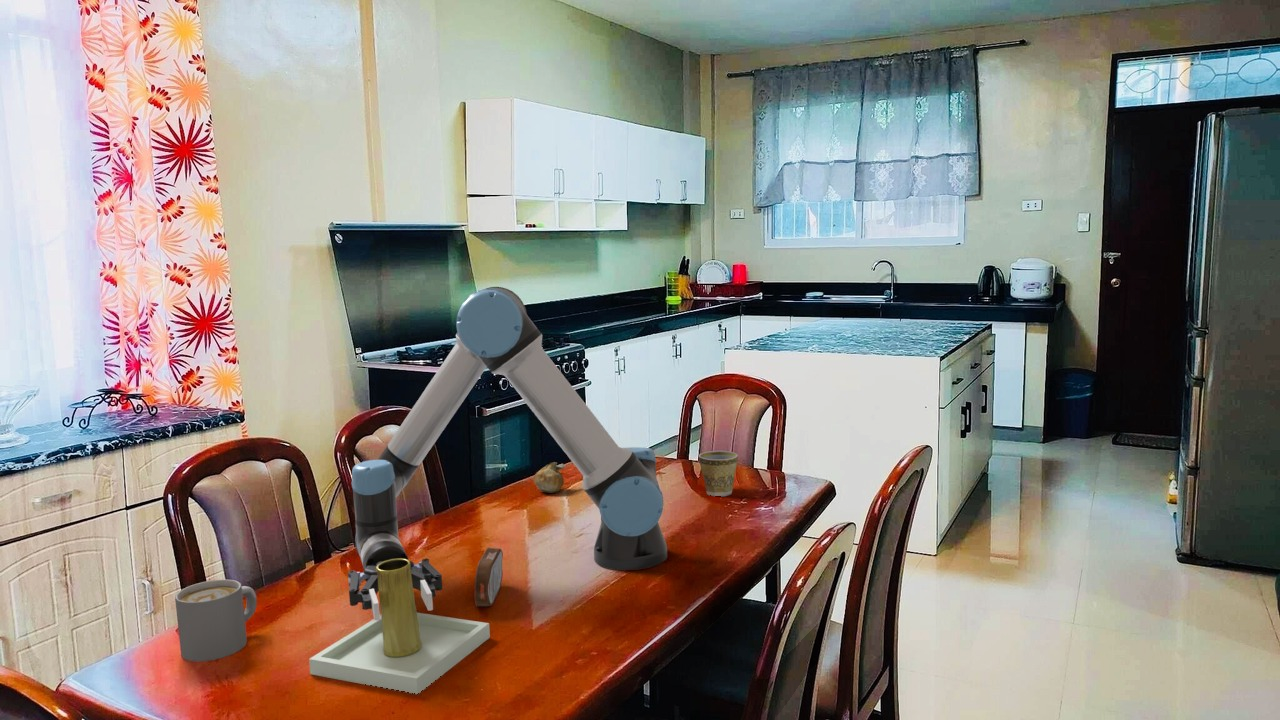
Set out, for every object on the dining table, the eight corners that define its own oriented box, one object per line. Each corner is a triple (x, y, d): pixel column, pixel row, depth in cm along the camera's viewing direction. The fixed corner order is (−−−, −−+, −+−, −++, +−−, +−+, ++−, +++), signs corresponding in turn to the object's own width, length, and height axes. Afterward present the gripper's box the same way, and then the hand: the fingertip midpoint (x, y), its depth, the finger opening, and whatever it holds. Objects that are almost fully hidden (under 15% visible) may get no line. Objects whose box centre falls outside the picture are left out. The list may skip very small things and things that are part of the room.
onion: (538, 488, 241) (537, 459, 240) (567, 488, 240) (566, 459, 239) (531, 496, 233) (529, 466, 232) (561, 496, 232) (559, 466, 231)
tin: (490, 582, 174) (487, 541, 173) (506, 582, 174) (504, 540, 173) (473, 614, 159) (470, 569, 158) (491, 614, 159) (488, 568, 158)
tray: (489, 637, 149) (489, 623, 149) (417, 694, 131) (416, 678, 131) (391, 622, 157) (390, 608, 156) (310, 674, 138) (309, 658, 138)
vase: (429, 641, 145) (420, 558, 143) (408, 659, 140) (398, 573, 137) (397, 637, 147) (388, 555, 145) (375, 655, 142) (365, 570, 139)
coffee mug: (198, 667, 142) (191, 607, 141) (170, 651, 148) (164, 593, 147) (277, 637, 152) (272, 580, 151) (248, 623, 159) (243, 569, 157)
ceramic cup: (740, 498, 225) (739, 459, 223) (700, 499, 225) (699, 460, 224) (735, 484, 238) (734, 447, 236) (698, 485, 238) (697, 448, 236)
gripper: (443, 571, 163) (470, 617, 142) (326, 591, 156) (336, 643, 135) (440, 531, 162) (467, 572, 141) (323, 549, 155) (332, 595, 134)
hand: (403, 606), depth 138 cm, fingers open, 7 cm apart
